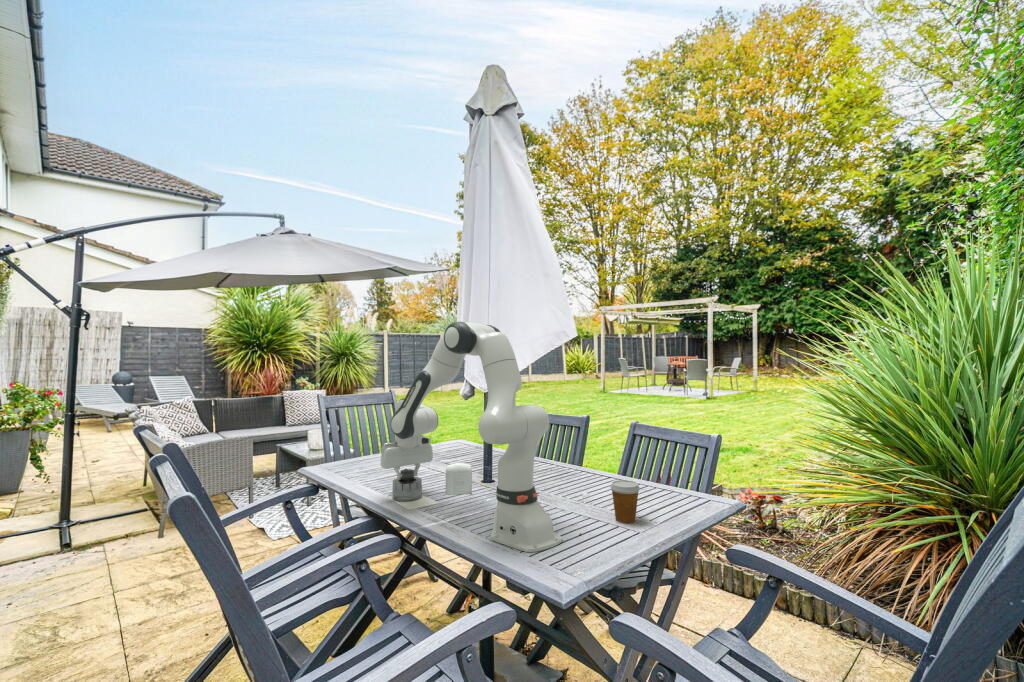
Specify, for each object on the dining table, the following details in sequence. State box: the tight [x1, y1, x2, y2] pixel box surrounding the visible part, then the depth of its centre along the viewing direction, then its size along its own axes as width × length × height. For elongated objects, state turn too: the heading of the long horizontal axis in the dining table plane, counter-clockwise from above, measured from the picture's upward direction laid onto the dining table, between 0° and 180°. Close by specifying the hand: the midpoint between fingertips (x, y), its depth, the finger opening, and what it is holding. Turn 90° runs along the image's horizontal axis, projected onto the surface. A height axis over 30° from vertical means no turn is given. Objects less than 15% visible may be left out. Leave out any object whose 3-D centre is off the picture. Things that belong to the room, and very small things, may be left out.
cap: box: [399, 468, 415, 481], centre depth 184 cm, size 5×5×4 cm
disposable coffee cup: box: [609, 479, 641, 524], centre depth 160 cm, size 10×10×12 cm
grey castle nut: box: [391, 476, 423, 502], centre depth 184 cm, size 11×11×6 cm
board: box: [386, 494, 439, 511], centre depth 181 cm, size 19×12×1 cm, turn 38°
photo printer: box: [445, 462, 473, 496], centre depth 190 cm, size 10×4×12 cm, turn 98°
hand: (407, 476), depth 184 cm, fingers closed on cap, 5 cm apart
